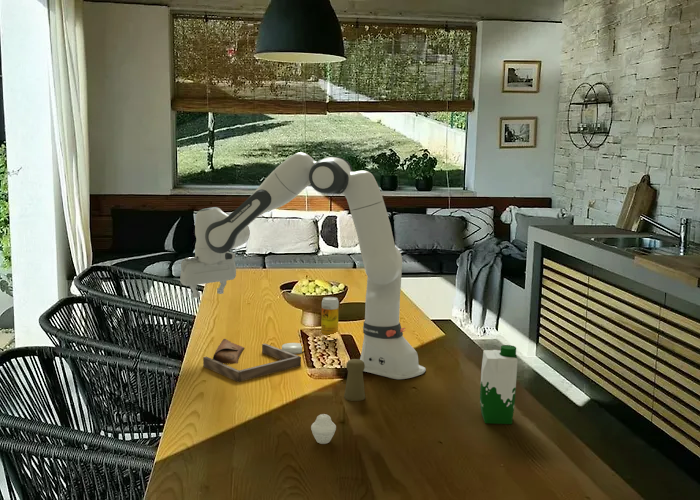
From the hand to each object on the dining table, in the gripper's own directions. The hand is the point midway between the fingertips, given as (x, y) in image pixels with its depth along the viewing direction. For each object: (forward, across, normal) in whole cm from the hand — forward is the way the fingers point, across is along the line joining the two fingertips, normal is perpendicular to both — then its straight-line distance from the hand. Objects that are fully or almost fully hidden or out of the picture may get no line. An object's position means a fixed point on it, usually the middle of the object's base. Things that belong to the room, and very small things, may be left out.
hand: (208, 295), depth 255 cm
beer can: (+19, +40, -17) cm, 48 cm away
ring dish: (+18, +21, -20) cm, 34 cm away
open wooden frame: (+18, 0, -25) cm, 31 cm away
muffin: (+18, -21, -83) cm, 88 cm away
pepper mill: (+18, +6, -66) cm, 69 cm away
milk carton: (+18, +24, -102) cm, 106 cm away
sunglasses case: (+19, +1, -11) cm, 22 cm away
